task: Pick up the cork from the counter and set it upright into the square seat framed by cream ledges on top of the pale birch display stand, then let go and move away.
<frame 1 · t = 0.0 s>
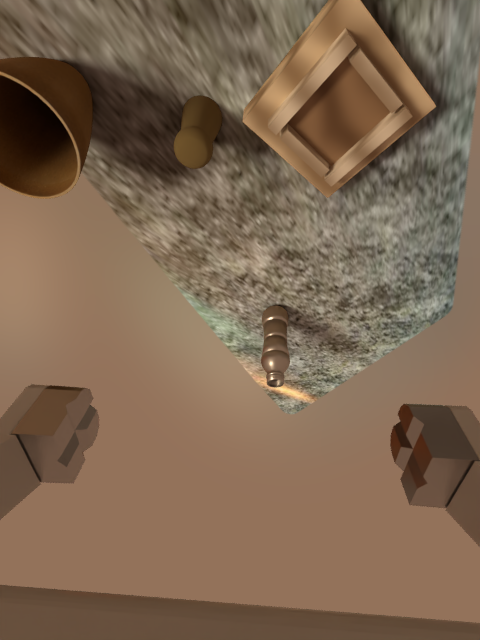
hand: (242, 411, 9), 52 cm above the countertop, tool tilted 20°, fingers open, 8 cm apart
plastic bottle: (275, 310, 87), on the countertop
cork: (202, 117, 53), on the countertop
plant pot: (64, 89, 51), on the countertop
display stand: (333, 102, 50), on the countertop
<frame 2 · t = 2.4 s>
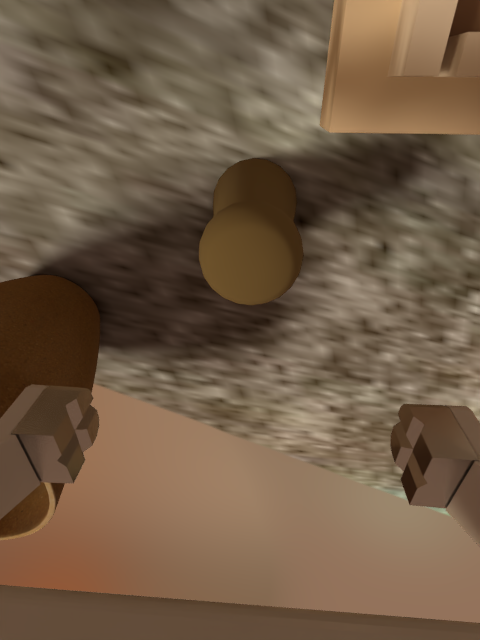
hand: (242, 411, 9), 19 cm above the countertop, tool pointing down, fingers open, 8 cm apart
cork: (254, 202, 26), on the countertop
plant pot: (59, 311, 32), on the countertop
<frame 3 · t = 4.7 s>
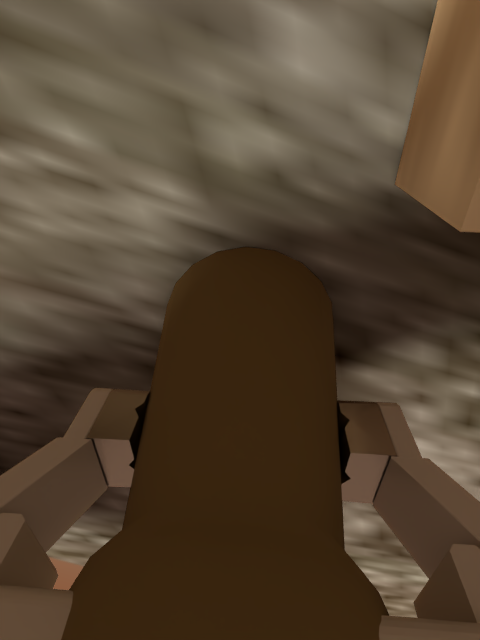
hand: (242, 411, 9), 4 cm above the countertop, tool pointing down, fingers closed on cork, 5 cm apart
cork: (249, 322, 13), on the countertop, touching gripper
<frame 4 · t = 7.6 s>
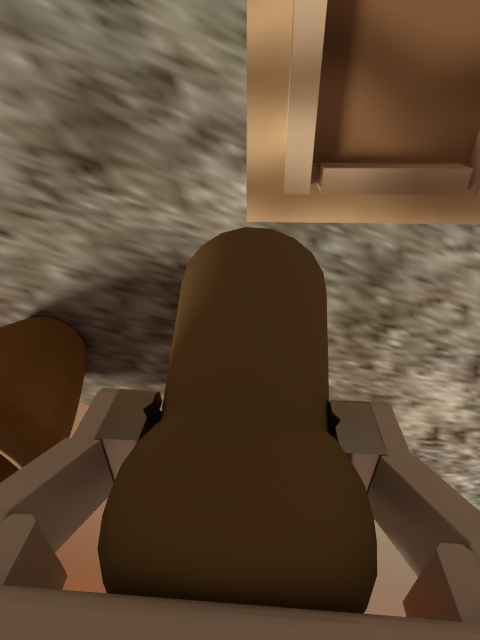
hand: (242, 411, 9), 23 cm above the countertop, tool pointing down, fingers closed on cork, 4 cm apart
cork: (253, 295, 15), point 16 cm above the countertop, touching gripper
plant pot: (52, 344, 38), on the countertop
display stand: (385, 70, 23), on the countertop
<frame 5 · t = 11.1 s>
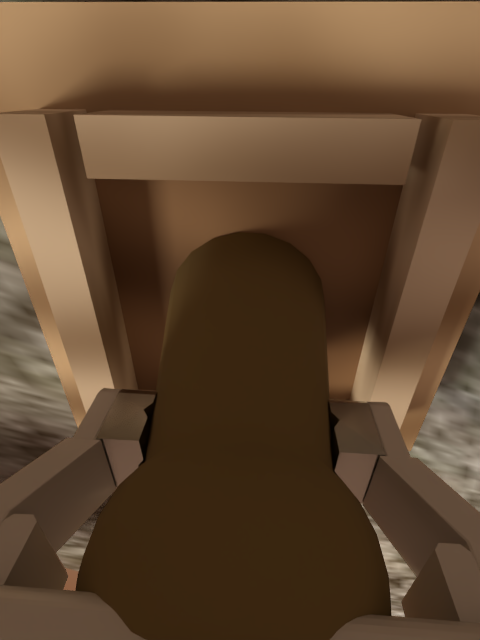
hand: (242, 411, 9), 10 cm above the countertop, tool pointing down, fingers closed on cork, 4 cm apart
cork: (246, 303, 14), point 4 cm above the countertop, touching display stand, gripper
display stand: (248, 258, 18), on the countertop
when the fingers open (10 cm above the countertop, at t = 11.7 s): cork stays where it is, resting on display stand.
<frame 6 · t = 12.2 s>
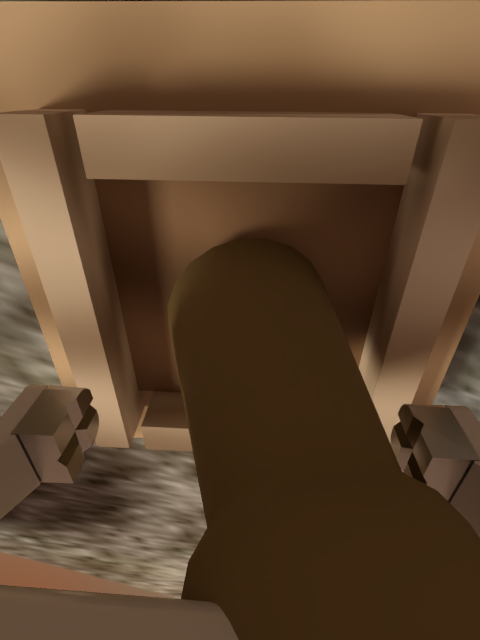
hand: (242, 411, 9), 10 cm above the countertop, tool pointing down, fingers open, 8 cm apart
cork: (247, 311, 14), point 5 cm above the countertop, touching display stand, gripper
display stand: (248, 258, 18), on the countertop
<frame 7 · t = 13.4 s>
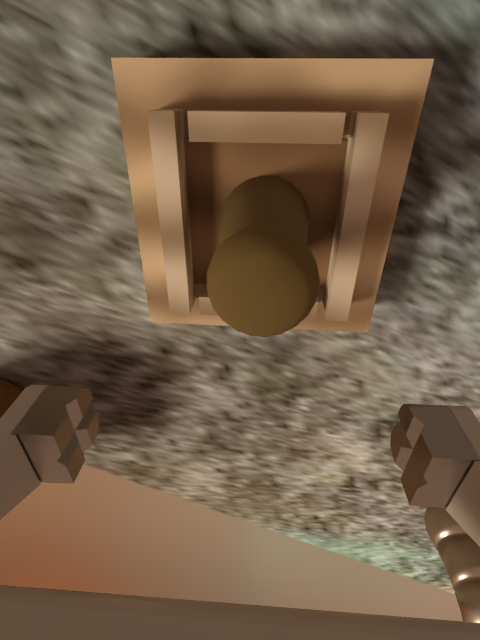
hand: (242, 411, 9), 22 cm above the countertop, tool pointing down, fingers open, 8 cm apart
plastic bottle: (444, 505, 47), on the countertop
cork: (264, 221, 24), point 4 cm above the countertop, touching display stand
plant pot: (3, 399, 43), on the countertop
display stand: (262, 204, 28), on the countertop
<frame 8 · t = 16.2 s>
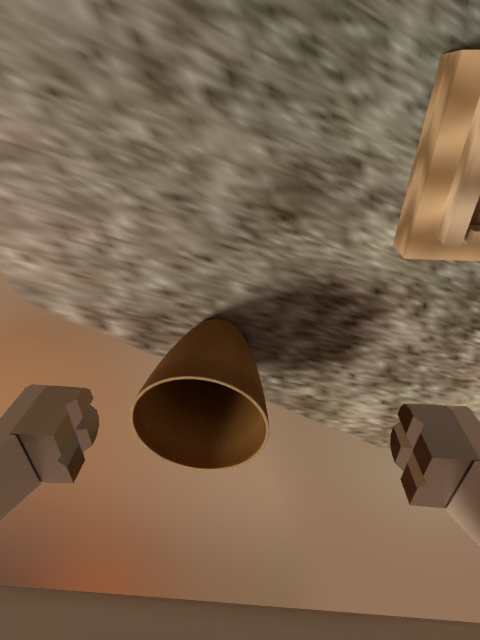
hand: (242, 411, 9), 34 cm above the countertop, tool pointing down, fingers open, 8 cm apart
plant pot: (216, 339, 51), on the countertop
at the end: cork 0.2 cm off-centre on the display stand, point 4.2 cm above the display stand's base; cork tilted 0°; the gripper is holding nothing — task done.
